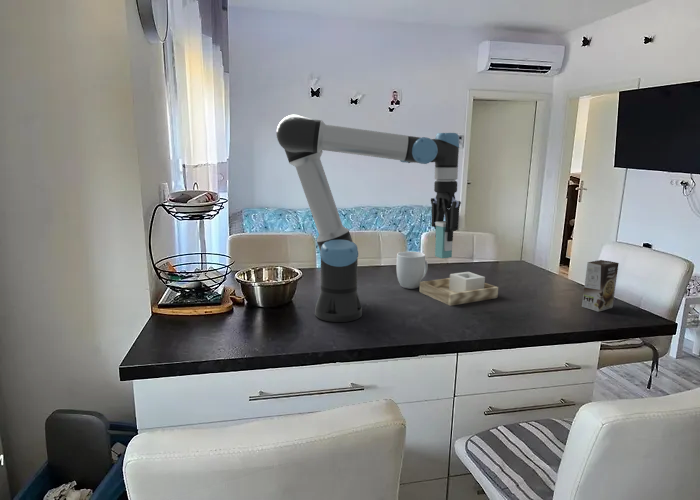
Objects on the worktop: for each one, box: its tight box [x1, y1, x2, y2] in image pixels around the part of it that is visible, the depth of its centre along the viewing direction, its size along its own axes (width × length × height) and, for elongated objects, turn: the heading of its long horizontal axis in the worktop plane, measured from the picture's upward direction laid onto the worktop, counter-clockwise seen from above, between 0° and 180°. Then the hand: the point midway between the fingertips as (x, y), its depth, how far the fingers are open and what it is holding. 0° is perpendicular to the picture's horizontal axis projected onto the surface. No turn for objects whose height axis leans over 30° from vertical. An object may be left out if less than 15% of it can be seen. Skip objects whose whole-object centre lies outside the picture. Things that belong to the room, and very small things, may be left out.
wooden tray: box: [419, 277, 499, 307], centre depth 176 cm, size 22×18×4 cm
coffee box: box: [581, 259, 620, 313], centre depth 163 cm, size 9×6×16 cm
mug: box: [395, 251, 429, 290], centre depth 186 cm, size 15×11×13 cm
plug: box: [434, 220, 453, 259], centre depth 162 cm, size 4×4×12 cm
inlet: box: [449, 271, 486, 293], centre depth 177 cm, size 9×9×6 cm
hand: (443, 249), depth 162 cm, fingers closed on plug, 4 cm apart
